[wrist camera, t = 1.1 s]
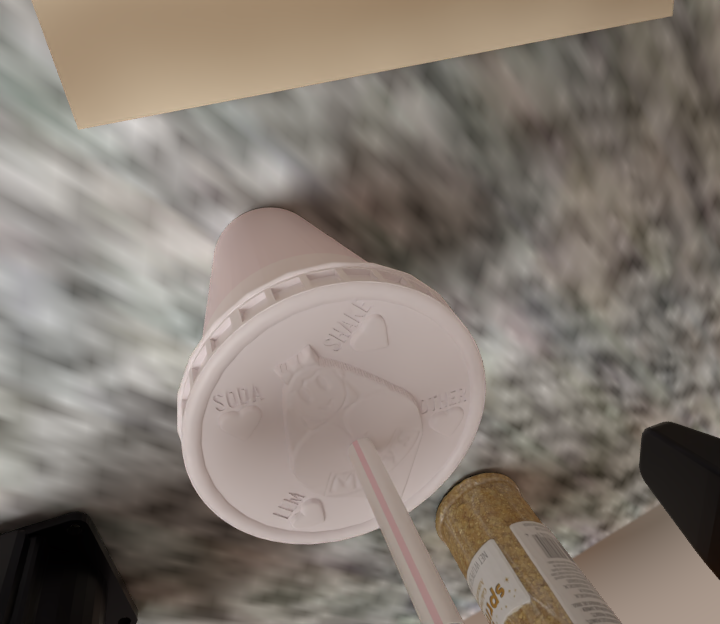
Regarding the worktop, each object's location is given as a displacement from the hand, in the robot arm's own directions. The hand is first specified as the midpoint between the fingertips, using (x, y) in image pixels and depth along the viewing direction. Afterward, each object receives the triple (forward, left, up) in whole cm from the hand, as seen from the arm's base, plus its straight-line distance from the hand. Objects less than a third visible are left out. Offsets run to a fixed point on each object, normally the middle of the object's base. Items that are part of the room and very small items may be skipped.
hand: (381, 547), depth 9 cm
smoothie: (0, 0, -13) cm, 13 cm away
